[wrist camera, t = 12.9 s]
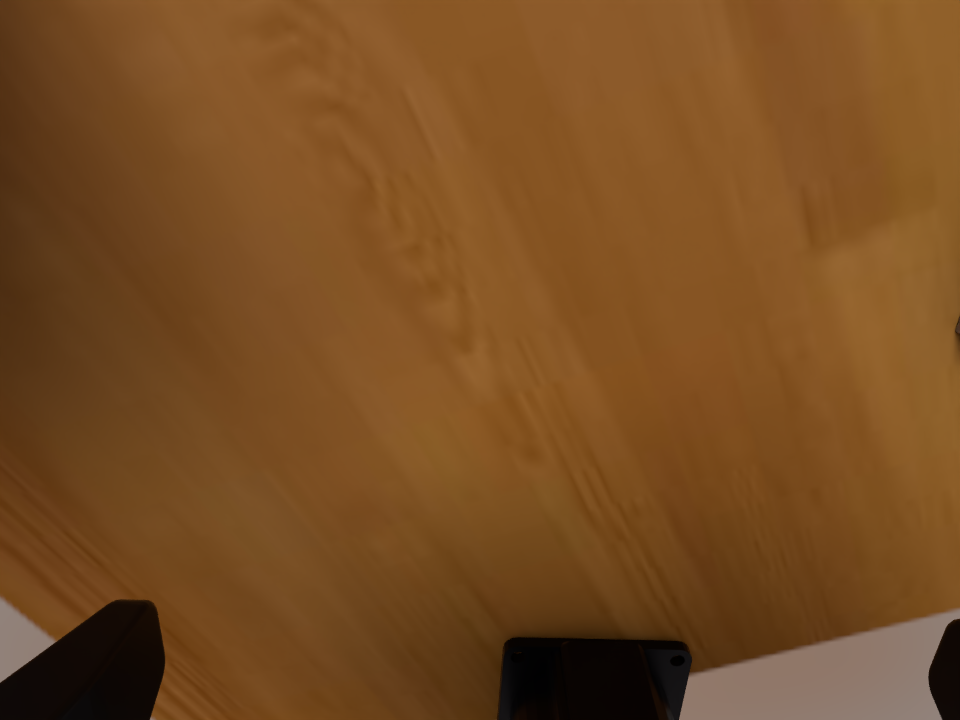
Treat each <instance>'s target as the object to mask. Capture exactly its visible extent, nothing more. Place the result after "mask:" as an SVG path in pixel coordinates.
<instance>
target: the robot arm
mask: <svg viewBox="0 0 960 720" xmlns="http://www.w3.org/2000/svg"><path fill="white" fill-rule="evenodd" d="M514 652H522V653H519V654H515V653H514ZM677 655H679V656H677ZM674 656H677V657H674ZM691 663H692V657H691V654H690V651H689V648H688V647H687V645H686V644H685V643H683V642H679V641H654V640H610V639H566V638H521V637H518V638H512V639H510V640H508V641H507V642H506V643H505V644H504V646H503V654H502V667H501V679H500V692H499V705H498V718H497V720H679V717H680V712H681V708H682V703H683V698H684V694H685V689H686V685H687V681H688V676H689V672H690V667H691ZM164 668H165V652H164V646H163V640H162V635H161V629H160V623H159V618H158V612H157V609H156V606H155V605H154V603H153V602H151V601H149V600H123V599H120V600H115V601H113V602H111V603H109V604H108V605H106V606H105V607H103V608H102V609H101V610H99V611H98V612H97V613H95V614H94V615H92V616H91V617H90V618H88V619H87V620H86V621H84V622H83V623H81V624H80V625H79V626H77V627H76V628H75V629H73V630H72V631H70V632H69V633H68V634H66V635H65V636H64V637H62V638H61V639H60V640H58V641H57V642H55V643H54V644H53V645H51V646H50V647H49V648H47V649H46V650H45V651H43V652H42V653H40V654H39V655H38V656H36V657H35V658H34V659H32V660H31V661H29V662H28V663H27V664H25V665H24V666H23V667H21V668H20V669H18V670H17V671H16V672H14V673H13V674H12V675H11V676H9V677H7V678H6V679H5V680H3V681H2V682H1V683H0V720H150V717H151V714H152V711H153V708H154V704H155V701H156V698H157V695H158V691H159V688H160V685H161V682H162V678H163V674H164ZM928 678H929V687H930V690H931V694H932V696H933V699H934V700H935V703H936V706H937V708H938V710H939V713H940V715H941V717H942V720H960V619H956V620H953V621H952V622H951V623H949V624H948V625H947V627H946V629H945V631H944V634H943V636H942V639H941V641H940V644H939V646H938V649H937V651H936V654H935V656H934V659H933V661H932V664H931V666H930V669H929V676H928Z"/></svg>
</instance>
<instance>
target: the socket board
mask: <svg viewBox="0 0 960 720" xmlns="http://www.w3.org/2000/svg"><path fill="white" fill-rule="evenodd" d="M956 332H958V333H959V334H960V319H959V322H958V325H957V328H956Z"/></svg>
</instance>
